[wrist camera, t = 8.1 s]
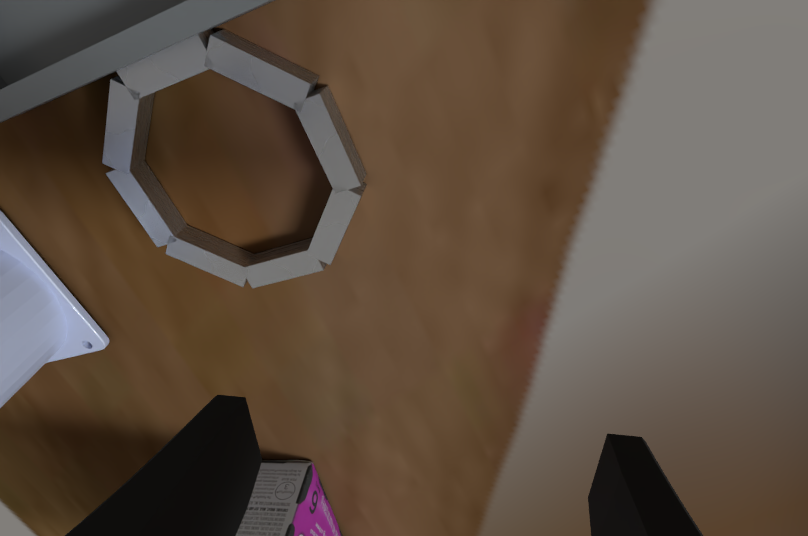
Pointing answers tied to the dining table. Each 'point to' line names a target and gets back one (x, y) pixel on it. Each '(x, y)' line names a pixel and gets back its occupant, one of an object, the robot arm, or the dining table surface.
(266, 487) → the candy bar box
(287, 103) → the seat ring
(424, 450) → the dining table surface
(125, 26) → the tray
